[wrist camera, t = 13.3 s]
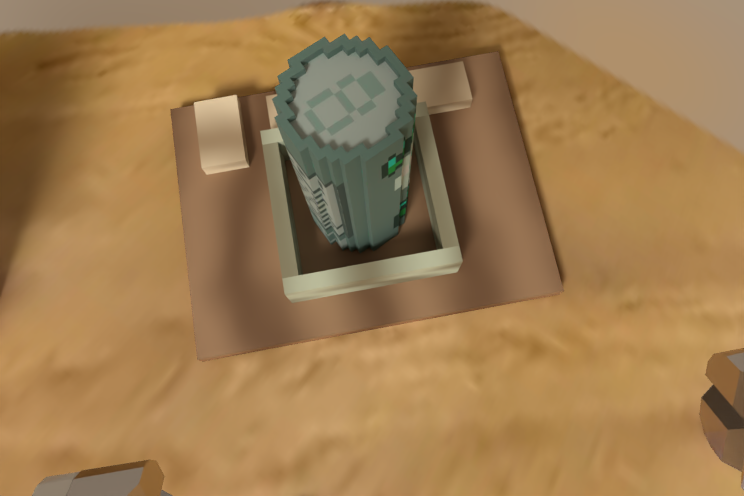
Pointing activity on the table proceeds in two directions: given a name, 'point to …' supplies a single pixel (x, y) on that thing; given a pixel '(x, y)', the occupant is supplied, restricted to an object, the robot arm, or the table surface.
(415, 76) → the bar
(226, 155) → the block
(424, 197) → the jig
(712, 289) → the table surface
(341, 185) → the can
